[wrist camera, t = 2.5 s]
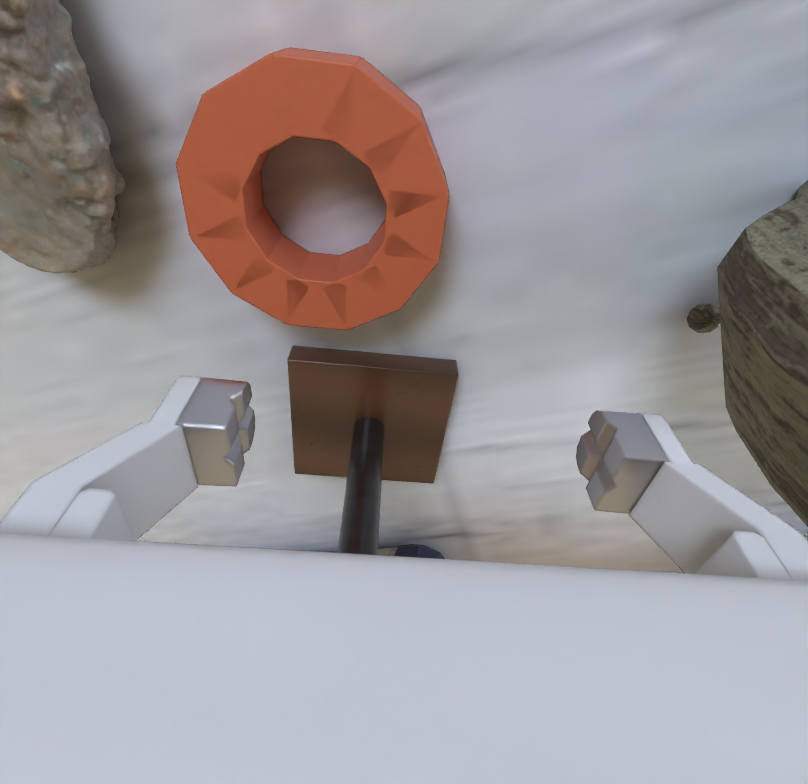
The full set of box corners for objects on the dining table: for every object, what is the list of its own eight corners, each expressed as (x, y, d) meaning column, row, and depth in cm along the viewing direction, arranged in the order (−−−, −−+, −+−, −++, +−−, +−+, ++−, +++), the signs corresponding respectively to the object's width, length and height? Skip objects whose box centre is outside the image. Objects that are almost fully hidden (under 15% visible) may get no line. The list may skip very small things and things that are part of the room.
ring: (184, 33, 19) (150, 37, 16) (460, 69, 19) (468, 78, 17) (223, 288, 26) (203, 317, 23) (425, 307, 27) (426, 338, 24)
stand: (292, 345, 28) (220, 555, 17) (456, 359, 29) (486, 571, 18) (298, 458, 35) (248, 664, 24) (432, 468, 35) (444, 673, 24)
